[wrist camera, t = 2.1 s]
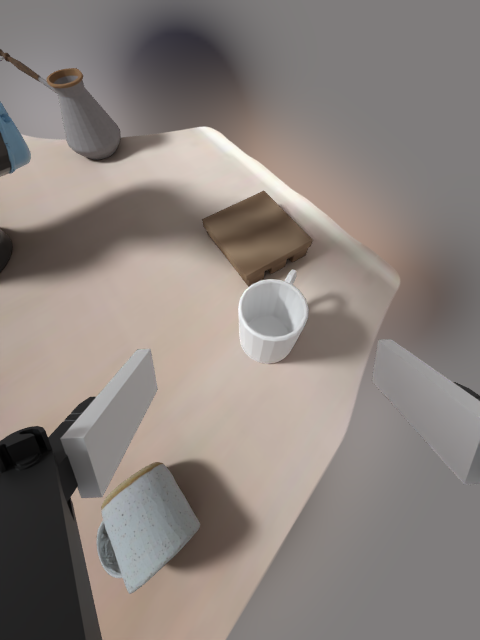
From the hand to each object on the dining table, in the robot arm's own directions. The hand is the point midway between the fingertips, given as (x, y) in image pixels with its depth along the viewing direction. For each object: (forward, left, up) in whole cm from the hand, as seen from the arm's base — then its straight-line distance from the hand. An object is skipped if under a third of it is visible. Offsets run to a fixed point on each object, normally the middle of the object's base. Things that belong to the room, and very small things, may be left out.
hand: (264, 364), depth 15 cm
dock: (-23, +16, -21) cm, 35 cm away
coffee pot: (-70, -1, -21) cm, 73 cm away
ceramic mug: (+4, -17, -21) cm, 27 cm away
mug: (-8, +9, -21) cm, 24 cm away
